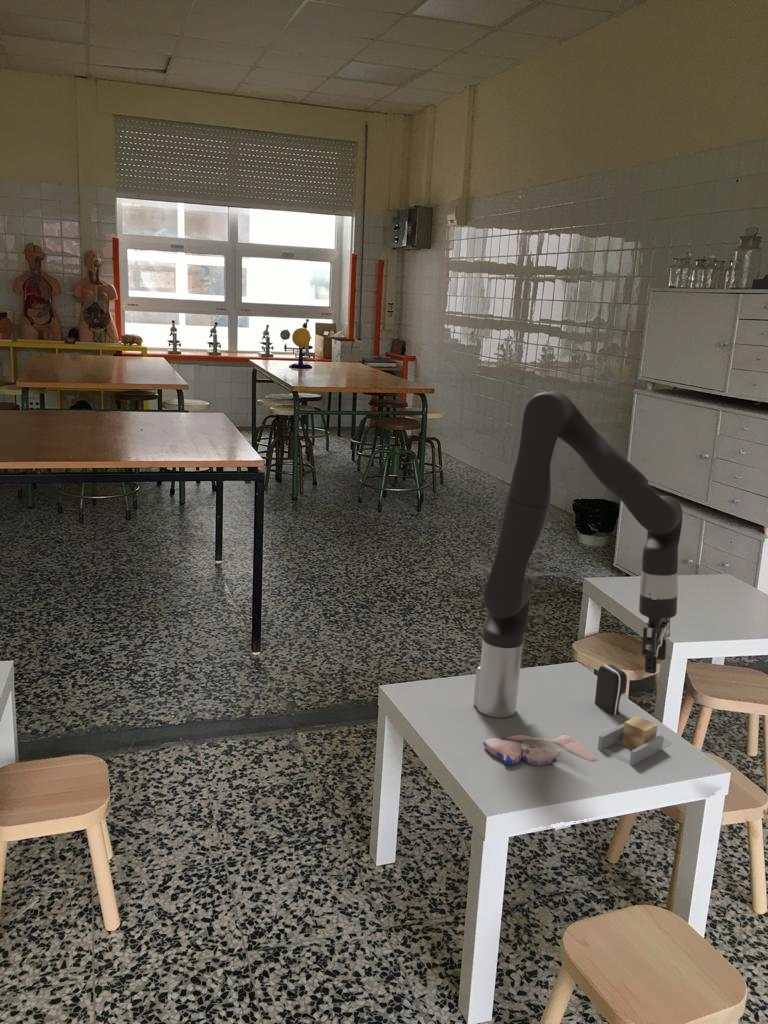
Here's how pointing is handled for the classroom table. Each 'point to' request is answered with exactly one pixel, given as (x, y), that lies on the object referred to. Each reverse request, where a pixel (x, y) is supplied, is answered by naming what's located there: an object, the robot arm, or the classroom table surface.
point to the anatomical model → (535, 749)
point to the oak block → (638, 732)
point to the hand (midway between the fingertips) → (655, 665)
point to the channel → (637, 753)
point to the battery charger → (610, 688)
